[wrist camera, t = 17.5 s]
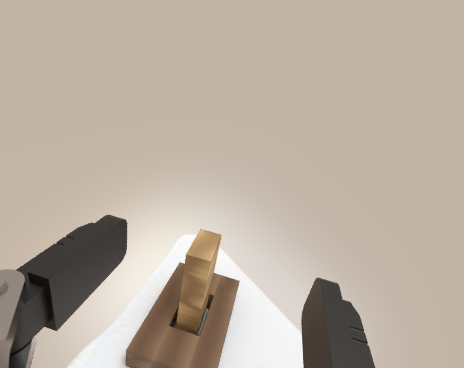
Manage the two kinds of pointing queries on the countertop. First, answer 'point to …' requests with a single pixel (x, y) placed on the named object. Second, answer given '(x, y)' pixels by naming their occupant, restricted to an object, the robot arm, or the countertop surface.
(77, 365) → the countertop surface
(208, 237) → the plank
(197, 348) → the base board
